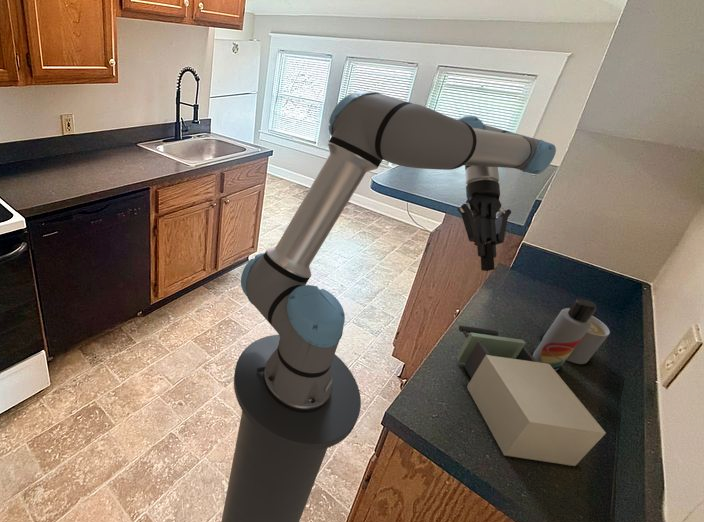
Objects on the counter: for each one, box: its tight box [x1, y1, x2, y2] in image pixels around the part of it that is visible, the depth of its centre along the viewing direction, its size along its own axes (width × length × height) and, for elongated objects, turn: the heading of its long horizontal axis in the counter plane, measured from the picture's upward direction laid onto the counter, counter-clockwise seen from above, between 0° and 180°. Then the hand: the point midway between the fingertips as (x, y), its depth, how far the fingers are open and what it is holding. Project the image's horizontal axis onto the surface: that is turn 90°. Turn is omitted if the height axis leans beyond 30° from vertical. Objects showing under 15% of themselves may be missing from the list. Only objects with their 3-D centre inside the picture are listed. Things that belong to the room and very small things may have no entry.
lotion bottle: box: [532, 298, 598, 372], centre depth 92 cm, size 6×6×20 cm
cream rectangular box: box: [466, 355, 607, 467], centre depth 78 cm, size 16×14×11 cm
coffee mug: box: [542, 307, 611, 365], centre depth 101 cm, size 13×10×10 cm
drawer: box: [455, 324, 537, 380], centre depth 88 cm, size 21×12×9 cm, turn 175°
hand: (487, 269), depth 96 cm, fingers closed
